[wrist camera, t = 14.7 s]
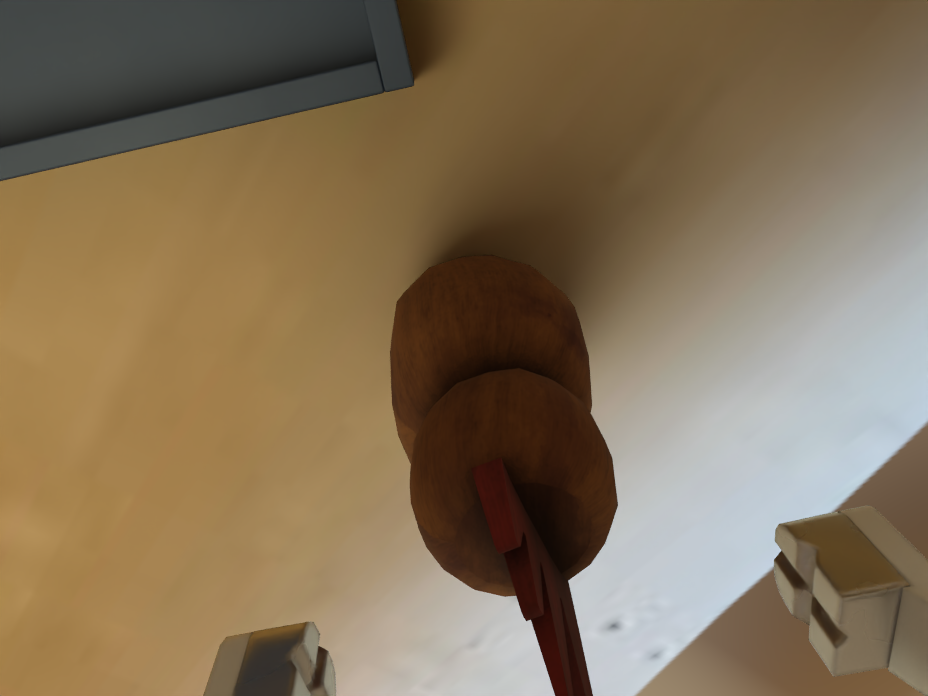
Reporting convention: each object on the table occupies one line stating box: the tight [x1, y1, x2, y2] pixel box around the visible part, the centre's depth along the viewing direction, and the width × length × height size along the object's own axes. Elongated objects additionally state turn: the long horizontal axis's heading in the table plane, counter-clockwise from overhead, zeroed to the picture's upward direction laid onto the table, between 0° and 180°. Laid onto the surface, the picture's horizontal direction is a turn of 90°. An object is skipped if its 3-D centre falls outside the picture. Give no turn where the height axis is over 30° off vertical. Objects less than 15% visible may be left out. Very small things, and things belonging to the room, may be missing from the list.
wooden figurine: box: [390, 255, 618, 696], centre depth 15 cm, size 7×6×15 cm
